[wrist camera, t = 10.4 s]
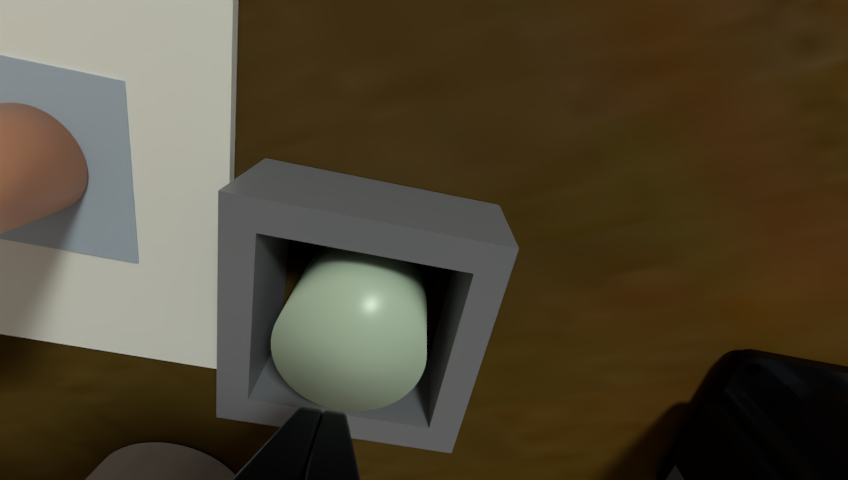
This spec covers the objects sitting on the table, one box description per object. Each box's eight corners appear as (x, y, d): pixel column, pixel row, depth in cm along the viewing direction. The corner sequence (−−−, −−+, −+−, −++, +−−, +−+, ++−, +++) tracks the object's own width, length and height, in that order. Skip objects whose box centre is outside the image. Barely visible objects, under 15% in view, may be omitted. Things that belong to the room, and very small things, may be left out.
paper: (240, -63, 9) (232, -68, 9) (229, 364, 14) (225, 371, 14) (-266, -184, 9) (-294, -193, 8) (-95, 311, 13) (-108, 317, 13)
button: (439, 253, 12) (442, 302, 9) (413, 358, 13) (410, 421, 11) (305, 228, 11) (275, 272, 9) (294, 338, 13) (266, 398, 11)
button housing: (499, 205, 12) (518, 248, 9) (447, 381, 14) (451, 453, 12) (265, 158, 11) (218, 190, 9) (254, 348, 14) (216, 417, 11)
